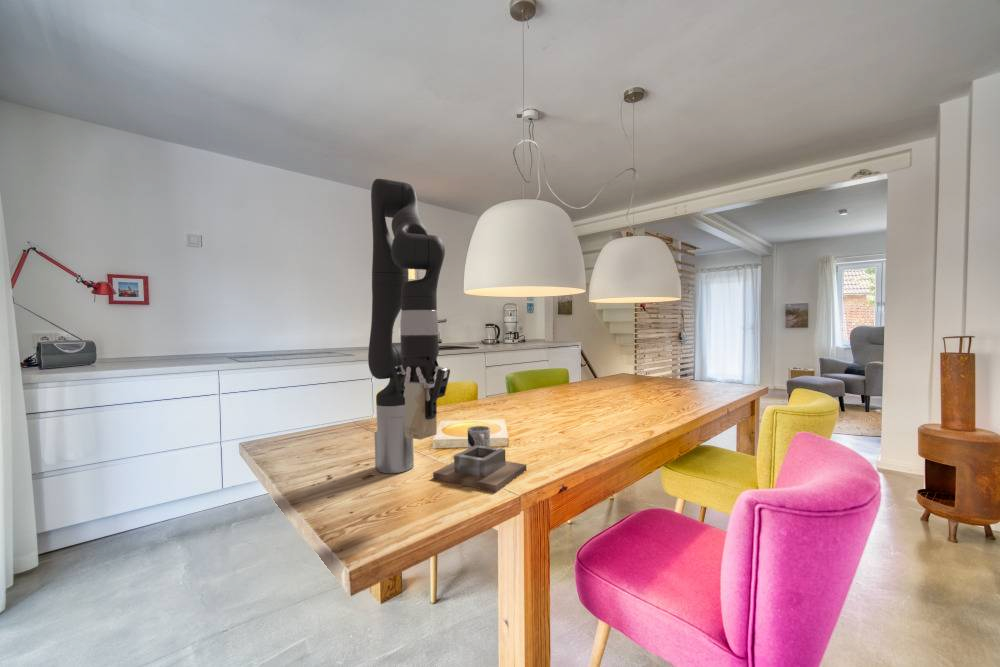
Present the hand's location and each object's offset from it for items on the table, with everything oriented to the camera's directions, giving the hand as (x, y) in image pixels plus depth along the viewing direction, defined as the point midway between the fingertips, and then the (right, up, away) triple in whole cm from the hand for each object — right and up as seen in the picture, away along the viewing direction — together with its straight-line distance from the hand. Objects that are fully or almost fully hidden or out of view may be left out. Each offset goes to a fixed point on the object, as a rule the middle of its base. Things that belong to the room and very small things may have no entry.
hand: (420, 417), depth 79 cm
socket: (+11, -18, +18) cm, 28 cm away
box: (0, -4, 0) cm, 4 cm away
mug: (+10, -18, +36) cm, 42 cm away
